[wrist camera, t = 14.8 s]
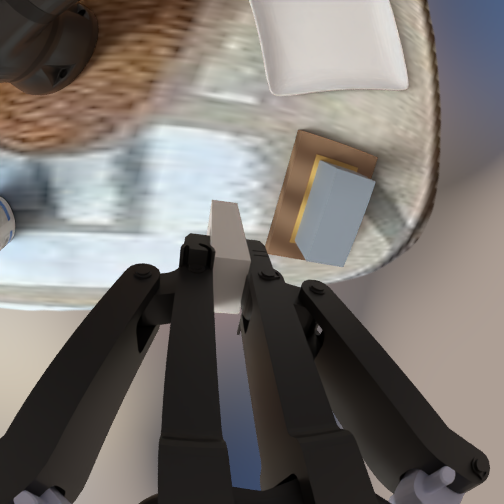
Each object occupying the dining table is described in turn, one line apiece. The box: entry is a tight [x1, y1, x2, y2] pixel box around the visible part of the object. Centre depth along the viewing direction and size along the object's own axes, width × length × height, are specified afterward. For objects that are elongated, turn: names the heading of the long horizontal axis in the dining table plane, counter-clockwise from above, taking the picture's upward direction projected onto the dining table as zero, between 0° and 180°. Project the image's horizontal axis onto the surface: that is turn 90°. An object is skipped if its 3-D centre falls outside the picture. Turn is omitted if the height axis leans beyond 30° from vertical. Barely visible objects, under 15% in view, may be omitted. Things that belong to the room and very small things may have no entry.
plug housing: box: [295, 160, 375, 267], centre depth 35 cm, size 12×6×6 cm, turn 166°
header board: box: [265, 130, 378, 260], centre depth 37 cm, size 18×12×6 cm, turn 166°
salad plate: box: [249, 0, 409, 96], centre depth 26 cm, size 21×21×3 cm
